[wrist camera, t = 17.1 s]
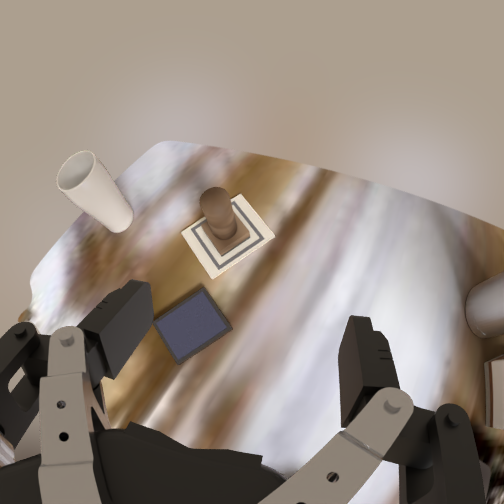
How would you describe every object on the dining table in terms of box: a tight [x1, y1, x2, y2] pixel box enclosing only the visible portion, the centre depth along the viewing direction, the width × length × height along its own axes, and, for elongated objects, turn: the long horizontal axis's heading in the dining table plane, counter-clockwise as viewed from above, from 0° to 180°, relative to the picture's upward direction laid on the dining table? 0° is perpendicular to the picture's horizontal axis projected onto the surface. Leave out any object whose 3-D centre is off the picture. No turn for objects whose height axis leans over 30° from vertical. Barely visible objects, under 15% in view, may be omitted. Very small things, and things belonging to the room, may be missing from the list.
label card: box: [181, 194, 275, 279], centre depth 44 cm, size 11×9×1 cm
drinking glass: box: [56, 150, 133, 233], centre depth 40 cm, size 7×7×15 cm
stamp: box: [200, 187, 250, 257], centre depth 39 cm, size 5×5×10 cm
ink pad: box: [153, 287, 233, 365], centre depth 39 cm, size 9×7×1 cm
